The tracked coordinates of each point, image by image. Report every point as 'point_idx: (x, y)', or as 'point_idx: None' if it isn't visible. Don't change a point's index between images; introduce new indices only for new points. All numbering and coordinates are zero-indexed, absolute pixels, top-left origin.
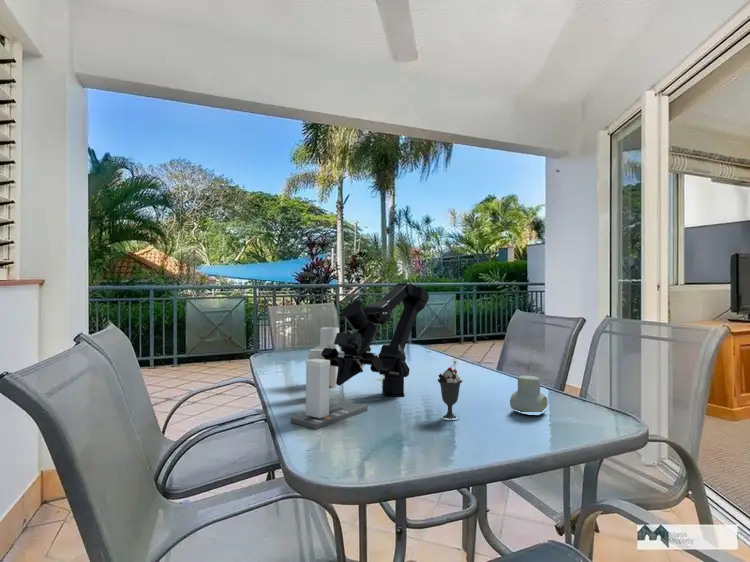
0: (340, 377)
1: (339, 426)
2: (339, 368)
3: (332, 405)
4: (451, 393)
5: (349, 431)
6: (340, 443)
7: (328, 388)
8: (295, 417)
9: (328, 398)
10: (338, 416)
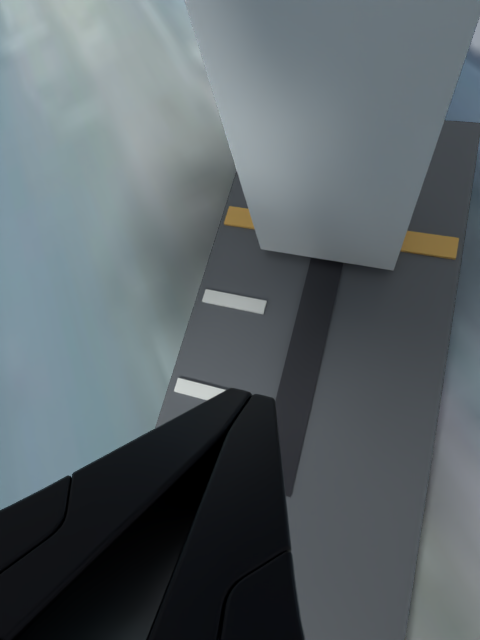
0: (194, 432)
1: (170, 217)
2: (243, 626)
3: (393, 549)
4: None
5: (97, 178)
6: (90, 54)
7: (222, 99)
8: (456, 142)
9: (242, 172)
10: (204, 280)
